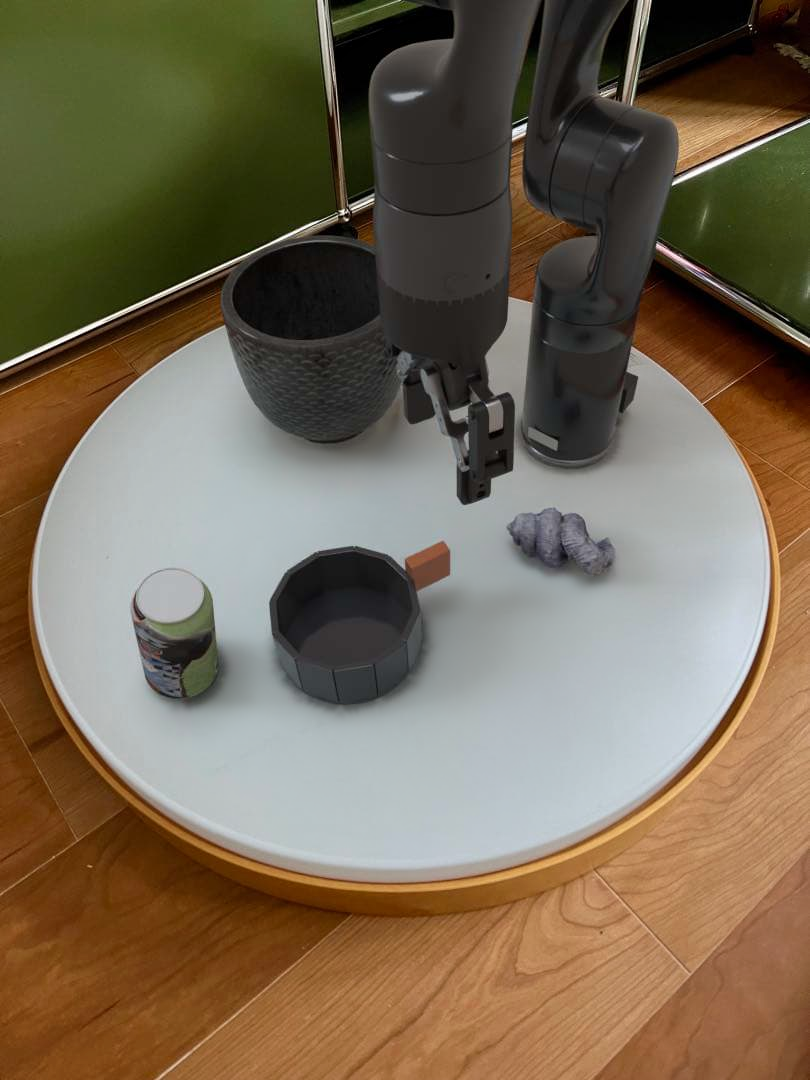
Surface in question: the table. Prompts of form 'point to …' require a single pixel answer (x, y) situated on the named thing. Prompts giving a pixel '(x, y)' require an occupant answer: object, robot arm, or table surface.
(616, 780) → the table surface
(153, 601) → the beverage can
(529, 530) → the seashell
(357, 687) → the dark grey saucepan
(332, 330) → the planter
